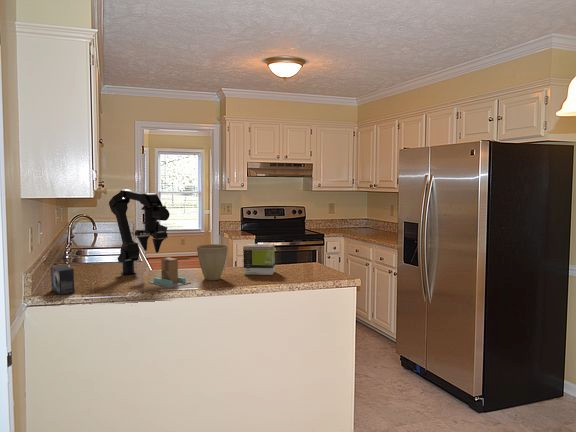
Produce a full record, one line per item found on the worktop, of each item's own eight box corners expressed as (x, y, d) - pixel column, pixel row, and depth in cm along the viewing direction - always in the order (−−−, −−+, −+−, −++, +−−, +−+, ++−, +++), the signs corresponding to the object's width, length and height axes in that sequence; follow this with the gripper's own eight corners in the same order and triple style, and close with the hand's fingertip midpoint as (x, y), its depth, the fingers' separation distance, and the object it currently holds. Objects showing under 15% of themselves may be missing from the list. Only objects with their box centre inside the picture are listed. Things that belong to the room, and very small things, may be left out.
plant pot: (233, 279, 236) (233, 246, 234) (207, 283, 226) (207, 249, 224) (217, 274, 247) (216, 243, 245) (191, 278, 237) (190, 245, 236)
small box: (50, 290, 210) (49, 266, 209) (65, 288, 215) (65, 264, 214) (59, 295, 202) (58, 270, 202) (75, 292, 207) (74, 268, 206)
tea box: (274, 271, 255) (275, 243, 253) (272, 275, 245) (272, 246, 243) (246, 270, 256) (246, 243, 255) (243, 274, 246) (243, 245, 245)
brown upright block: (161, 281, 227) (161, 258, 226) (168, 280, 230) (168, 257, 229) (170, 284, 223) (170, 260, 222) (177, 282, 226) (177, 259, 225)
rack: (148, 282, 227) (148, 277, 226) (169, 278, 236) (169, 273, 236) (170, 287, 217) (170, 282, 217) (190, 283, 226) (190, 278, 226)
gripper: (176, 219, 234) (177, 251, 235) (153, 217, 246) (153, 247, 247) (157, 221, 225) (157, 254, 227) (133, 218, 237) (134, 250, 238)
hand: (151, 251), depth 235 cm, fingers open, 9 cm apart
